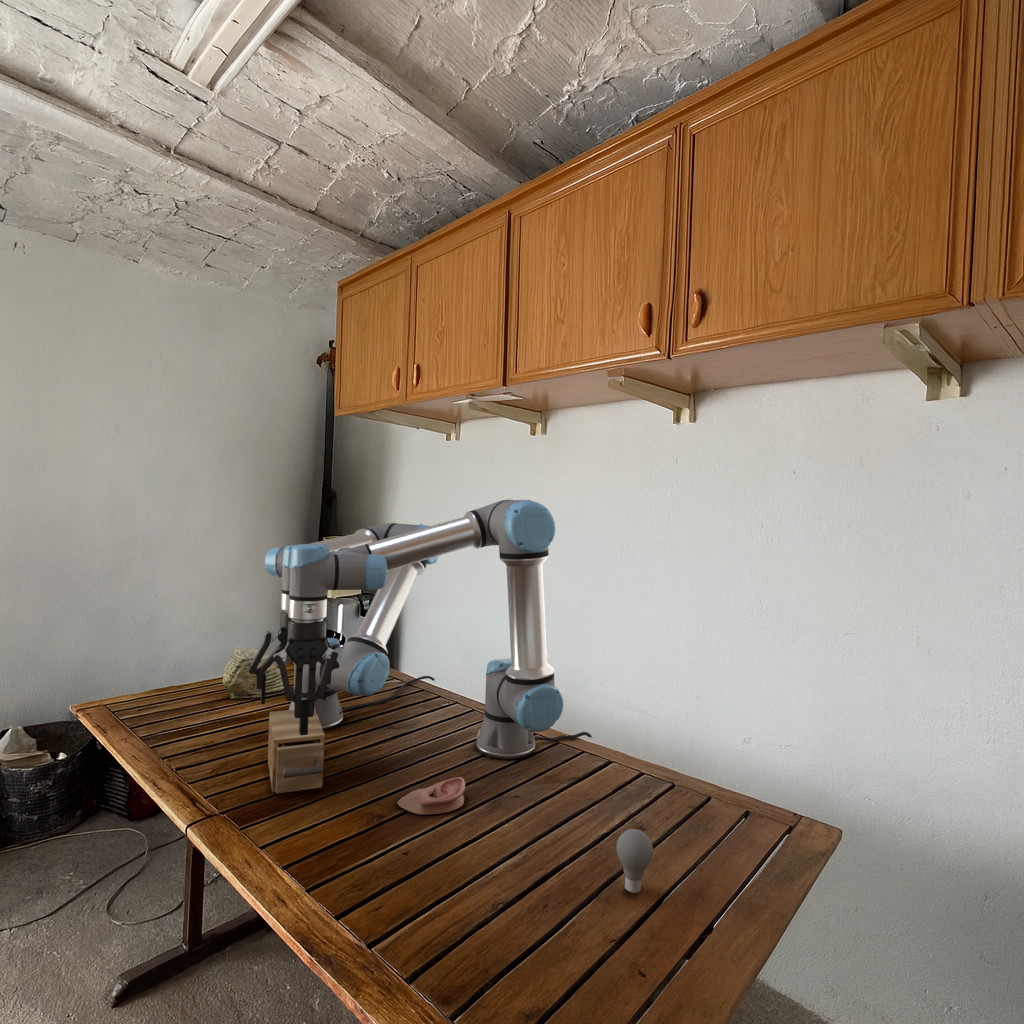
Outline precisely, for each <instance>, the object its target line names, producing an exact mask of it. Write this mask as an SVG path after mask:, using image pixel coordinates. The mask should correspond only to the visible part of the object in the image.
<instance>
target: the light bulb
mask: <svg viewBox="0 0 1024 1024" xmlns="http://www.w3.org/2000/svg"><path fill="white" fill-rule="evenodd" d="M615 849H616V854H617V857H618V859H619V861H620V863H621V865H622V867H623V873H624V874H623V875H624V876H625V878H624V888H625V890H627V891H628V892H630V893H634V894H635V893H639V892H640V891H641V889H642V887H641V886H642V879H643V877H644V875H645V871H646V868H647V867H648V866H649V864H650V863H651V861H652V859H653V855H654V847H653V843H652V841H651V838H649V836H648V835H647V834H646V833H645V832H643V831H642V830H641V829H636V828H629V829H627V830H625V831H623V832H622V833H621V834H620V835H619V837H618V839H617V841H616V847H615Z"/></svg>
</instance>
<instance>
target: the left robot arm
mask: <svg viewBox="0 0 1024 1024" xmlns="http://www.w3.org/2000/svg"><path fill="white" fill-rule="evenodd" d="M429 526H430V525H425V524H422V523H421V524H411V523H397V522H389V523H388V522H387V523H380V524H377V525H372V526H368V527H364V528H359V529H358V530H356V531H355V532H354V533H352V534H348V535H344V536H339V537H334V538H330V539H325V540H321V541H316V542H311V543H310V544H321V545H327V546H328V547H329V552H330V554H334V553H335V552H336V551H337V550H339V549H342V548H346V547H348V548H353V547H356V546H360V545H364V544H367V543H371V542H374V541H378V540H382V539H385V538H389V537H393V536H396V535H400V534H404V533H407V532H411V531H415V530H418V529H422V528H426V527H429ZM296 545H297V544H289V545H287V546H286V547H284V546H281V547H273V548H271V549H269V550H268V552H266V555H265V557H264V568H265V571H266V573H268V574H269V575H271V576H274V577H278V578H281V593H280V595H281V596H280V609H281V612H280V615H279V616H280V617H279V630H278V632H271V631H269V630H268V631H267V630H266V632H265V634H264V640H263V641H262V643H261V646H260V647H259V648H260V649H259V651H258V653H257V654H256V656H255V658H254V660H253V661H252V663H251V665H250V667H249V673H250V674H255V675H256V676H257V681H256V687H257V690H258V689H261V697H260V703H261V704H260V705H265V704H266V696H265V688H266V674H265V673H264V672H265V671H266V670H267V669H268V668H269V667H270V666H271V665H272V664H273V662H274V663H275V660H274V657H273V655H274V654H275V653H279V652H281V651H282V650H284V649H285V645H286V643H287V640H288V622H289V621H290V620H291V619H290V618H289V617H288V614H289V591H290V564H291V553H292V549H293V547H294V546H296ZM439 559H440V556H436V557H433V558H429V559H426V560H423V561H419V562H416V563H412V564H409V565H405V566H402V567H398V568H395V569H392V570H388V571H387V579H386V584H385V586H384V587H383V588H382V589H377V590H376V593H375V595H374V596H373V599H372V601H371V603H370V605H369V607H368V610H367V612H366V613H365V616H364V618H363V620H362V621H361V624H360V627H359V629H358V631H357V633H356V634H354V635H350V636H348V639H347V641H346V643H345V645H344V646H341V645H340V644H341V643H340V640H339V638H335V637H328V632H327V631H326V642H327V644H328V647H329V648H330V649H332V650H336V651H337V653H338V657H337V659H336V660H335V661H334V663H333V665H332V669H331V672H330V676H329V679H328V683H327V687H326V690H325V694H324V697H323V698H319V699H317V700H316V701H315V702H314V708H315V710H316V713H317V716H318V718H319V721H320V724H321V726H322V729H323V732H325V731H329V730H332V729H335V728H337V727H339V726H340V725H342V723H343V722H344V714H343V711H345V710H346V711H347V710H351V709H357V708H364V707H368V706H374V705H378V704H382V703H385V702H388V701H390V700H393V699H395V698H396V697H397V696H398V695H400V693H401V691H402V690H403V689H404V688H405V687H406V686H408V685H410V684H413V683H415V682H418V681H422V680H425V679H429V680H431V681H433V682H435V681H436V679H435V678H434V677H433V676H430V675H423V676H419V677H416V678H414V679H412V680H408V681H405V682H404V683H403V684H402V685H401V686H400V687H399V688H398V689H397V691H396V692H395V693H394V694H392V695H390V696H388V697H385V698H382V699H379V700H375V701H371V702H365V703H359V704H353V705H348V706H341V702H340V699H339V695H338V692H341V693H345V694H350V695H352V696H356V697H357V696H362V697H370V696H372V695H375V694H376V693H378V692H379V691H380V690H381V689H382V688H383V687H384V685H385V684H386V682H387V680H388V678H389V675H390V667H391V662H390V660H389V658H388V655H389V651H388V649H387V644H388V641H389V639H390V637H391V635H392V633H393V630H394V628H395V626H396V623H397V621H398V619H399V617H400V614H401V612H402V610H403V608H404V606H405V602H406V600H407V598H408V597H409V594H410V592H411V589H412V587H413V585H414V583H415V580H416V577H417V576H419V575H422V574H424V572H425V571H426V567H427V565H429V566H430V565H431V566H432V565H435V563H437V562H438V560H439ZM276 639H277V640H278V641H279V642H280V643H279V644H278V646H277V647H276V648H275V649H274V650H273V652H272V653H271V654H270V655H268V656H269V657H268V658H267V659H266V661H265V662H264V663H263V664H262V665H261V666H260V667H259V668H257V666H258V665H259V663H260V661H261V659H262V658H263V656H264V654H265V653H267V650H268V649H269V647H270V645H271V643H273V642H275V640H276ZM325 655H326V652H325V653H324V654H323V656H322V657H321V658H320V660H319V661H318V662H317V663H316V680H315V692H316V691H317V689H318V685H319V682H320V678H321V675H322V671H323V668H324V664H325V661H326V657H325ZM293 665H294V666H293V694H295V670H296V666H295V663H294V662H293ZM304 699H308V664H305V665H303V679H302V700H304ZM288 710H294V702H292V701H290V704H289V708H288Z"/></svg>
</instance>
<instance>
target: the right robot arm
mask: <svg viewBox="0 0 1024 1024" xmlns="http://www.w3.org/2000/svg"><path fill="white" fill-rule="evenodd" d="M428 526H429V527H426V528H422V529H418V530H415V531H411V532H407V533H404V534H400V535H396V536H393V537H389V538H385V539H382V540H378V541H374V542H371V543H367V544H364V545H360V546H356V547H353V548H348V547H346V548H342V549H339V550H337V551H336V552H335V553H334V554H330V552H329V547H328V546H327V545H321V544H311V543H300V544H299V543H298V544H295V545H296V546H294V547H293V549H292V553H291V564H290V591H289V614H288V617H289V618H290V619H291V620H290V621H289V622H288V640H287V643H286V645H285V649H284V650H282V651H281V652H279V653H275V654H274V655H273V657H274V660H275V661H274V663H275V664H276V666H278V669H279V670H280V674H281V678H282V683H283V687H284V696H285V699H286V701H287V702H294V716H295V718H299V733H300V735H308V717H313V715H314V702H315V701H316V700H317V699H319V698H323V697H324V694H325V690H326V687H327V683H328V679H329V676H330V672H331V669H332V665H333V663H334V661H335V660H336V659H337V657H338V653H337V651H336V650H332V649H330V648H329V647H328V644H327V642H326V632H327V620H326V619H325V618H327V616H328V615H327V613H328V610H327V609H328V592H329V591H368V592H369V591H371V590H372V591H373V590H378V589H382V588H383V587H384V586H385V584H386V579H387V571H388V570H392V569H395V568H398V567H402V566H405V565H409V564H412V563H416V562H419V561H423V560H426V559H429V558H433V557H436V556H439V557H440V556H442V555H443V556H444V555H447V554H451V553H454V552H457V551H461V550H464V549H467V548H470V547H472V548H475V549H477V550H478V549H482V548H486V547H491V546H498V552H499V553H498V554H499V560H500V561H501V562H503V564H505V566H506V583H507V584H506V585H507V586H506V587H507V602H508V603H507V605H508V622H509V642H510V658H509V657H508V658H497V659H492V660H490V661H489V662H488V663H487V665H486V672H485V696H484V697H485V699H484V704H485V705H484V718H483V721H482V723H481V727H480V728H479V730H478V732H477V737H476V743H475V745H476V750H477V751H478V752H479V753H480V754H482V755H483V756H486V757H489V758H492V759H497V760H519V759H525V758H527V757H529V756H531V755H533V754H534V753H535V751H536V741H547V742H556V741H559V740H567V739H568V740H572V739H577V738H579V737H583V736H586V737H587V738H593V736H592V735H591V733H589V732H588V731H580V732H579V733H576V734H571V735H569V734H567V735H568V736H566V734H563V735H558V736H555V737H547V736H535V735H534V733H541V732H544V731H547V730H549V729H550V728H552V727H553V726H554V725H555V723H557V721H558V720H559V719H560V718H561V716H562V713H563V710H564V697H563V695H562V693H561V691H560V690H559V689H558V687H556V681H555V669H554V667H553V666H552V665H551V664H550V663H548V651H547V629H546V609H545V607H546V606H545V587H544V584H545V583H544V566H543V565H544V563H545V561H547V559H549V556H550V554H549V546H550V545H551V543H552V542H553V541H554V538H555V536H556V522H555V518H554V516H553V514H552V513H551V511H550V510H549V509H548V508H547V507H546V506H545V505H544V504H541V503H540V502H537V501H534V500H531V499H502V500H498V501H496V502H493V503H490V504H487V505H485V506H482V507H478V508H476V509H472V510H468V511H466V512H465V514H464V515H463V516H462V517H458V518H455V519H451V520H447V521H444V522H441V523H437V524H434V525H428ZM325 652H326V655H325V657H326V661H325V664H324V668H323V671H322V675H321V678H320V682H319V685H318V689H317V691H316V692H315V680H316V663H317V662H318V661H319V660H320V658H321V657H322V656H323V654H324V653H325ZM287 656H288V657H289V659H290V660H291V661H292V662H293V664H294V663H295V666H296V670H295V694H294V692H292V690H291V685H290V680H289V676H288V671H287V667H286V662H287ZM305 664H308V699H304V700H302V679H303V665H305Z"/></svg>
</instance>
